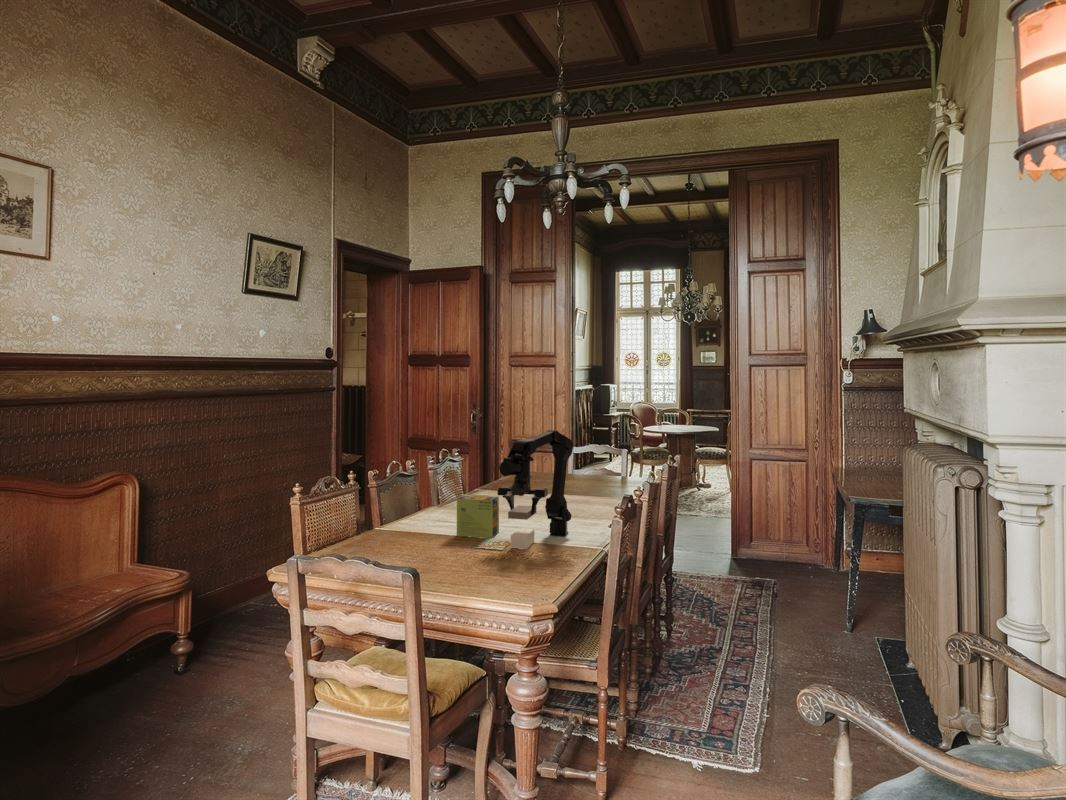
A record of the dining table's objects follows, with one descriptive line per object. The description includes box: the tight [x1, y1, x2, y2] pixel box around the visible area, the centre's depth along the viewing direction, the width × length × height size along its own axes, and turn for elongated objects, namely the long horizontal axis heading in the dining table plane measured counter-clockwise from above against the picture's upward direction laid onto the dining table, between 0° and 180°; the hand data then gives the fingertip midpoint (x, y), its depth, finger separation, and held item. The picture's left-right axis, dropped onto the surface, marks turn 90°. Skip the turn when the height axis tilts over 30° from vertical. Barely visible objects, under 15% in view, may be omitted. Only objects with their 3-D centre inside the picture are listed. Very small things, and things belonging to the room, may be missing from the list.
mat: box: [474, 537, 511, 551], centre depth 257 cm, size 11×16×1 cm
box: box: [510, 527, 535, 550], centre depth 256 cm, size 6×12×5 cm, turn 165°
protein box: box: [456, 494, 500, 539], centre depth 274 cm, size 10×15×16 cm
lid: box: [507, 504, 537, 520], centre depth 256 cm, size 7×13×2 cm, turn 165°
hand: (522, 514), depth 256 cm, fingers closed on lid, 7 cm apart
